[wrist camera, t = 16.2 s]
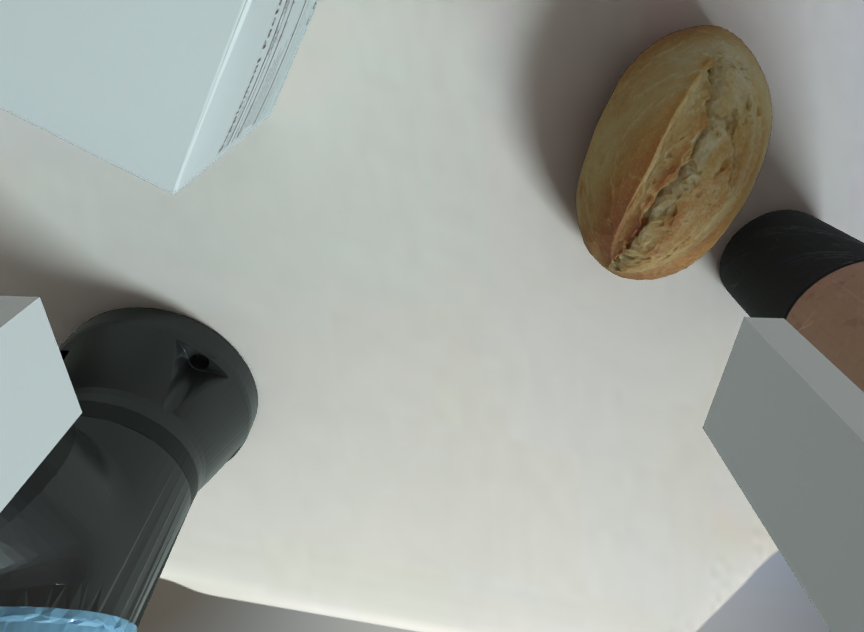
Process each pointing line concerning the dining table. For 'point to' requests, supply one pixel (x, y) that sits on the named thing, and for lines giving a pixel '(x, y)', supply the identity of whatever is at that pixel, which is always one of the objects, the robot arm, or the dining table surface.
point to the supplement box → (148, 75)
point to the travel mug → (802, 282)
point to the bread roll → (674, 153)
